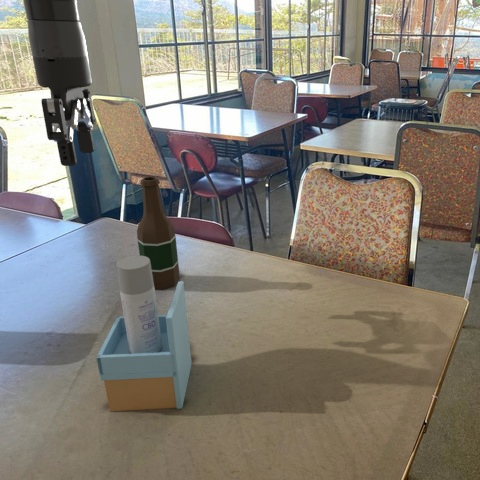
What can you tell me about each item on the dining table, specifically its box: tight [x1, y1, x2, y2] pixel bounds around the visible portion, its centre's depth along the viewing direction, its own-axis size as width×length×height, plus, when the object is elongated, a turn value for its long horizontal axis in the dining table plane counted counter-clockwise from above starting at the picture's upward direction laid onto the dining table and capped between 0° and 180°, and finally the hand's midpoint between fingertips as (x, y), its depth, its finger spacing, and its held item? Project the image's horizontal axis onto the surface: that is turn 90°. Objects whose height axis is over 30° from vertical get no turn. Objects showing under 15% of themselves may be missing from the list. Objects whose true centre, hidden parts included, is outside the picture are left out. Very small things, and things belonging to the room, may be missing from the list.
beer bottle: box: [136, 176, 180, 291], centre depth 103 cm, size 8×8×24 cm
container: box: [116, 255, 162, 354], centre depth 70 cm, size 5×5×15 cm
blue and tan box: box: [95, 280, 193, 412], centre depth 73 cm, size 11×11×16 cm
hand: (78, 158), depth 79 cm, fingers open, 8 cm apart
